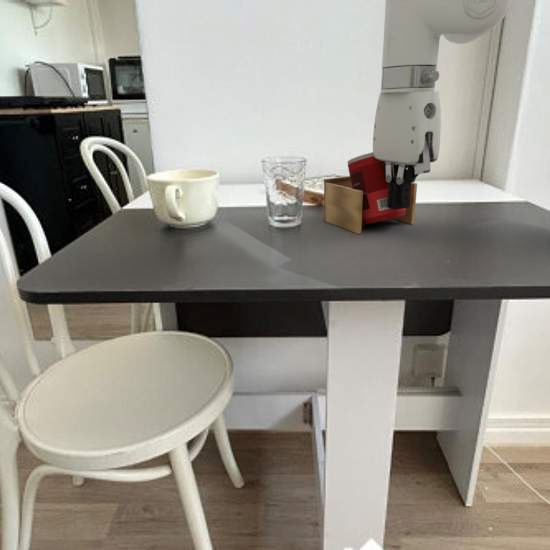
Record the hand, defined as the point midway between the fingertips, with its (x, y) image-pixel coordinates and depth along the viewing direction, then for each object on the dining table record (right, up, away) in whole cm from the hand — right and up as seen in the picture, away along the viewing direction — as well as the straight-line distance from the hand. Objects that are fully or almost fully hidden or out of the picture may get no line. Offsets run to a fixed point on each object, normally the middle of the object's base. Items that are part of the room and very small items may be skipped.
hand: (398, 207), depth 69 cm
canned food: (-1, -2, +5) cm, 5 cm away
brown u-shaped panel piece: (-3, -1, +9) cm, 9 cm away
